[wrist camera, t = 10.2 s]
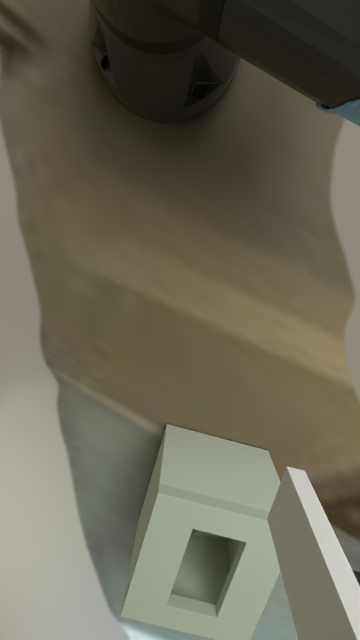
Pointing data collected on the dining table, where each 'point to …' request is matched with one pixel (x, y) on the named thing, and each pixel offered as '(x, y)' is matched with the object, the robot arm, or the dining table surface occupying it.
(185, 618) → the box
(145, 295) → the dining table surface
